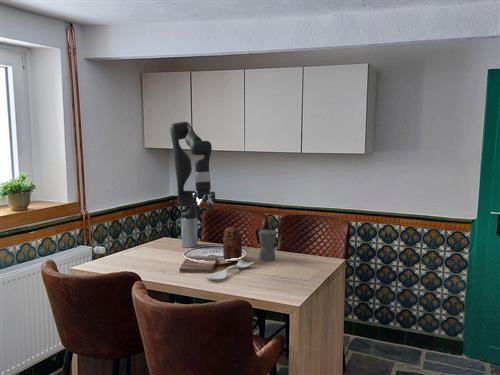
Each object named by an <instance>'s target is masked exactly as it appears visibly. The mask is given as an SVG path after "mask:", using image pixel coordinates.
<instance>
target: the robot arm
mask: <svg viewBox="0 0 500 375" xmlns="http://www.w3.org/2000/svg"><path fill="white" fill-rule="evenodd" d="M169 131H170V137H171V143H172V148H173V149H172V150H173V156H174V158H173V159H174V168H175V169H174V170H175V175H176V183H177V184H176V185H177V186H176V187H177V202H178V206H180V207H190V209H188V210H185V211H183V212H181V213H180V220H181V221H180V223H181V225H180V226H181V228H180V229H181V233H180V235H181V247H182V248H196V247H197V246H198V218H197V217H198V215H201V204H203V202H206V203H207V204H208V213H213V212H214V206H213V205H214V204H215V203H216V191H213V190H212V185H211V174H210V173H211V172H210V161H211V160H210V159H211V154H212V151H213V150H212V149H213V148H212V147H213V146H212V143H211V142H210V141H209V140H202V138H201V137H200V136H198V134H197V133H196V132H195V131H194V129H193V127H192V125H191V124H190V122H188V121H181V122H180V121H179V122H175V123H171V124H170V127H169ZM180 140H185V143H186V145H187V146H188V147H189V148H190V153H191V154H192V155H193V156H203V157H202V158H201V159H198V160H195V162H194V170H195V172H194V173H195V175H194V178H195V179H194V180H195V181H194V182H195V190H185V189H184V188H185V185H186V182H187V181H188V179H189V177H190V176H191V174H192V160H191V158H190V156H189V155H188V154H187V153H186V152H185V151H184V149H183V148H182V147H181V145H180V142H179V141H180ZM211 190H212V191H211Z"/></svg>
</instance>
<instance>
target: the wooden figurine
mask: <svg viewBox="0 0 500 375" xmlns="http://www.w3.org/2000/svg"><path fill="white" fill-rule="evenodd" d="M242 238H243V237H242V234H241V233H240V231H239V229H237V228H236V227H234V226H229V227H226V228H225V229H224V232H223V240H222V241H223V242H222V243H223V245H222V246H223V249H222V250H223V257H222V258H224V259H231V258H239V257H241V256H242V257H243V244H242V243H243V239H242ZM224 259H223V260H224ZM242 260H243V259H242ZM242 260H241V261H242ZM238 262H239V261H237V262H236V263H238Z"/></svg>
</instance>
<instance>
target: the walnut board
mask: <svg viewBox="0 0 500 375" xmlns="http://www.w3.org/2000/svg"><path fill="white" fill-rule="evenodd" d="M187 257H188V258H191V259H196V260H205V261H216V260H217V261H218V256H212V255H211V256H210V255H209V256H207V255H206V256H205V255H204V256H202V255H200V256H199V255H195V256H194V255H188V256H186V258H187ZM186 258H185V259H184V261H183V262H182V264H181V265H180V267H179V273H193V274H194V273H196V274H199V273H200V274H201V273H203V274H204V273H205V274H209V273H210V274H213V271H214V268H215V266H216V264H215V265H214V264H204V263H198V262H194V261H191V260H189V259H186Z"/></svg>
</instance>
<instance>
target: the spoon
mask: <svg viewBox="0 0 500 375" xmlns="http://www.w3.org/2000/svg"><path fill="white" fill-rule="evenodd" d="M241 260H242V261H241ZM254 264H255V261H249V262H248V261H246V260H243V258H242V259H240V260H239V262H236V264H233V265H230V266H228V267H227V268H225V269H224V270H220V271H217V272H214V273H213V272H212V273H210V274H207V275H205V278H206V279H208V280H212V281H220V280H223V279H225V278H227V277H228V275H229V274H228V271H229V270H233V269H234V268H237V269H246V268H248V267H249V266H252V265H254Z"/></svg>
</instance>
